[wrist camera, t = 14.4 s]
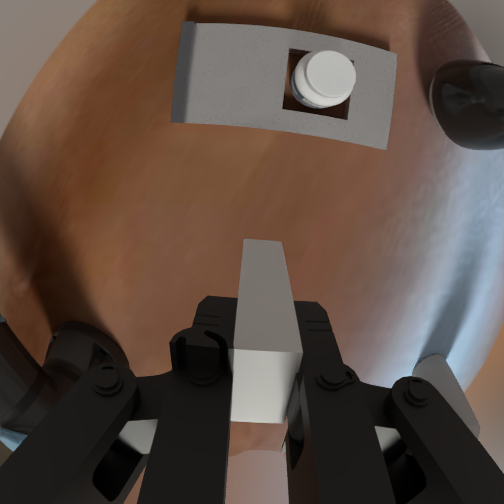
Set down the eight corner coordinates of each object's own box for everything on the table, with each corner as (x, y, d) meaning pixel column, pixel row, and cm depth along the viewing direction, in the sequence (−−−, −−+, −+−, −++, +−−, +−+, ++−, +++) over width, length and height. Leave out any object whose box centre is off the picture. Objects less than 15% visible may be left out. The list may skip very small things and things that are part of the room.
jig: (178, 122, 30) (170, 122, 27) (189, 28, 25) (182, 21, 23) (379, 148, 30) (389, 151, 27) (390, 57, 25) (400, 52, 23)
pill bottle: (294, 57, 26) (305, 34, 18) (342, 70, 27) (369, 53, 19) (284, 102, 29) (292, 94, 20) (333, 114, 29) (357, 112, 21)
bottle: (434, 379, 44) (486, 504, 19) (406, 381, 44) (453, 519, 19) (450, 353, 42) (516, 482, 16) (421, 354, 42) (485, 499, 16)
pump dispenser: (481, 148, 28) (566, 175, 15) (417, 141, 29) (504, 163, 15) (478, 73, 24) (563, 69, 10) (412, 57, 25) (495, 32, 11)
